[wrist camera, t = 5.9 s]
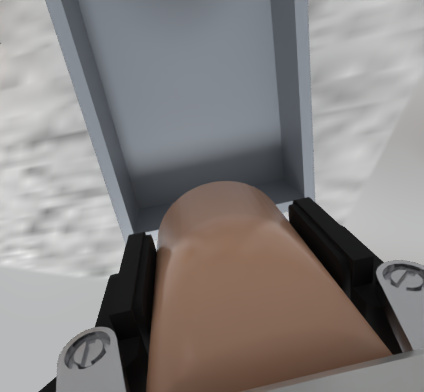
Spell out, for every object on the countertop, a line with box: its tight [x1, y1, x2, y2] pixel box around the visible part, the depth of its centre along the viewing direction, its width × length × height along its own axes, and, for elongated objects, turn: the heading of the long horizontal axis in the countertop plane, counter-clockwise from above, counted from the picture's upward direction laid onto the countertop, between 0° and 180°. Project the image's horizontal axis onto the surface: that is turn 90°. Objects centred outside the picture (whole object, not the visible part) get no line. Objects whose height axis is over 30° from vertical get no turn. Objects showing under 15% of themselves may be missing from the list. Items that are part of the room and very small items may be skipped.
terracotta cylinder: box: [146, 181, 393, 392], centre depth 9 cm, size 5×5×7 cm
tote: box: [45, 0, 315, 245], centre depth 22 cm, size 20×15×5 cm
